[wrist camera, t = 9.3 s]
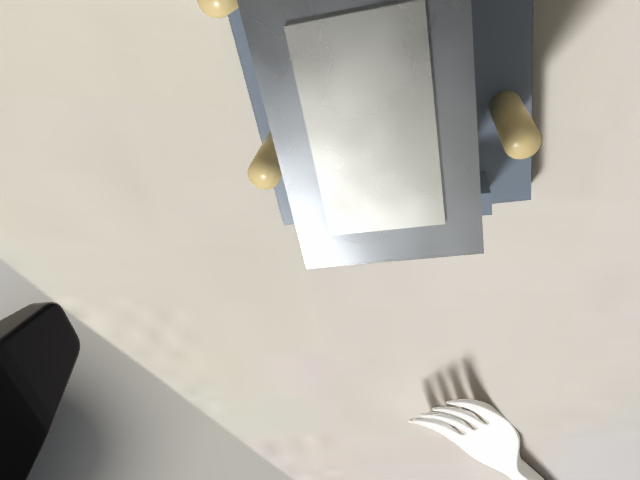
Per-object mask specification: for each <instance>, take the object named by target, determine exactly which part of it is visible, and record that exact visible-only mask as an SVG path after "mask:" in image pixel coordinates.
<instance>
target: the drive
mask: <svg viewBox="0 0 640 480" xmlns="http://www.w3.org/2000/svg"><path fill="white" fill-rule="evenodd" d="M237 4H238V7H239V11H240V15H241V19H242V23H243V27H244V30H245V34H246V38H247V42H248V46H249V50H250V54H251V57H252V61H253V65H254V69H255V73H256V77H257V81H258V84H259V88H260V92H261V96H262V100H263V104H264V107H265V111H266V115H267V119H268V123H269V127H270V131H271V134H272V138H273V142H274V146H275V150H276V154H277V158H278V161H279V165H280V169H281V173H282V177H283V181H284V184H285V188H286V192H287V196H288V200H289V204H290V208H291V211H292V215H293V219H294V223H295V227H296V231H297V234H298V238H299V242H300V246H301V250H302V254H303V258H304V261H305V265H306V269H311V268H322V267H334V266H345V265H357V264H368V263H379V262H391V261H402V260H414V259H425V258H436V257H448V256H459V255H471V254H482V253H484V247H483V228H482V208H481V188H480V168H479V149H478V129H477V109H476V89H475V70H474V50H473V30H472V10H471V0H237Z"/></svg>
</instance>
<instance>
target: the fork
mask: <svg viewBox="0 0 640 480" xmlns="http://www.w3.org/2000/svg"><path fill="white" fill-rule="evenodd" d="M446 403H447V404H452V405H457V406H461V407H464V408H467V409H470V410H472V411H474V412H475V413H477V414H479V415H481V416H482V417H484V418H485V419H487V420H488V421H489V422H490V423H488V424H486V423H484V422H483V421H482V420H481V419H479V418H478V417H477V416H476V415H475V414H474V413H472V412H470V411H468V410H465V409H461V408H457V407H449V406H441V407H434V408H432V411H439V412H444V413H439V412H428V413H422V414H420V417H428V418H413V419H409V420H408V421H409V422H411V423H416V424H420V425H423V426H426V427H429V428H431V429H433V430H435V431H437V432H439V433H441V434H442V435H444V436H445V437H447V438H449V439H450V440H451V441H453V442H454V443H456V444H457V445H459V446H460V447H461V448H462V449H463V450H464V451H465V452H467V453H468V454H469V455H470V456H472V457H473V458H475V459H476V460H478V461H480V462H481V463H484V464H486V465H488V466H490V467H492V468H494V469H496V470H498V471H500V472H502V473H504V474H506V475H507V476H509V477H510V478H511V479H512V480H545V479H544V478H542V477H541V476H540V475H539V474H538V473H537V472H535V471H534V470H533V469H532V468H531V467H530V466H529V465H527V464H526V463H525V462H524V461H523V460H522V459H521V457H520V441H521V440H520V435H519V433H518V431H517V430H516V429H515V427H514V426H513V425H512V424H511V423H510V422H509V421H508V420H507V419H506V418H505V417H504V416H503V415H501V414H500V413H499V412H498V411H497V410H496V409H495V408H494V407H493V406H492V405H490V404H488V403H485V402H482V401H478V400H472V399H456V400H450V401H447V402H446ZM445 413H448V414H445ZM450 414H452V415H450ZM453 415H455V416H453ZM457 416H458V417H457ZM459 417H460V418H459ZM431 418H433V419H431ZM461 418H462V419H464V420H466V421H468V422H470V423H472V424H474V425H475V426H477V427H478V429H473V428H471V427H470V426H469V425H468V424H467V423H465V422H464V421H463V420H462V419H461ZM436 419H437V420H436ZM440 420H441V421H440ZM443 421H444V422H443ZM450 424H451V425H453V426H455V427H457V428H459V429H461V430H463V431H464V432H466V434H461V433H459V432H458V431H457V430H456V429H455V428H453V427H452V426H451V425H450Z"/></svg>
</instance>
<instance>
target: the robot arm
mask: <svg viewBox="0 0 640 480" xmlns="http://www.w3.org/2000/svg"><path fill="white" fill-rule="evenodd" d="M79 351H80V341H79V338H78V336H77V334H76V332H75V330H74V328H73V326H72V325H71V323H70V321H69V319H68V317H67V316H66V314H65V312H64V310H63V309H62V307H61V306H60V305H58V304H57V303H54V302H46V303H34V304H30V305H28V306H26V307H25V308H23V309H21V310H19V311H17V312H15V313H14V314H12V315H10V316H8V317H6V318H4V319H2V320H1V321H0V480H27V479H28V476H29V474H30V472H31V470H32V468H33V466H34V464H35V462H36V460H37V458H38V456H39V454H40V451H41V449H42V447H43V445H44V443H45V441H46V439H47V436H48V434H49V432H50V429H51V427H52V424H53V422H54V419H55V416H56V414H57V411H58V408H59V406H60V403H61V400H62V397H63V395H64V392H65V390H66V387H67V384H68V381H69V379H70V376H71V373H72V370H73V368H74V365H75V363H76V360H77V357H78V354H79Z"/></svg>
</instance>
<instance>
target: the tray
mask: <svg viewBox="0 0 640 480" xmlns="http://www.w3.org/2000/svg"><path fill="white" fill-rule="evenodd" d="M197 2H198V4H199V6H200V8H201V9H202V11H203V12H204V13H205V14H207V15H208V16H210V17H213V18H223V17H226V16H227V15H228V17H229V21H230V25H231V29H232V32H233V36H234V40H235V44H236V47H237V51H238V55H239V59H240V62H241V66H242V70H243V74H244V77H245V81H246V85H247V89H248V92H249V96H250V100H251V104H252V107H253V111H254V115H255V119H256V122H257V126H258V130H259V134H260V137H261V141H262V145H261V147H260V149H259V151H258V152H257V154H256V156H255V158H254V159H253V161H252V163H251V164H250V166H249V168H248V177H249V179H250V181H251V182H252V184H253V185H255V186H256V187H258V188H260V189H272V188H274V190H275V194H276V197H277V201H278V205H279V209H280V212H281V216H282V220H283V224H284V225H290V224H295V223H294V219H293V215H292V211H291V208H290V204H289V200H288V196H287V192H286V188H285V184H284V181H283V177H282V173H281V169H280V165H279V161H278V158H277V154H276V150H275V146H274V142H273V138H272V134H271V131H270V127H269V123H268V119H267V115H266V111H265V107H264V104H263V100H262V96H261V92H260V88H259V84H258V81H257V77H256V73H255V69H254V65H253V61H252V57H251V54H250V50H249V46H248V42H247V38H246V34H245V30H244V27H243V23H242V19H241V15H240V11H239V7H238V4H237V0H197ZM471 10H472V30H473V50H474V70H475V89H476V109H477V129H478V149H479V168H480V188H481V208H482V215H492V204H494V203H503V202H513V201H523V200H531V156H532V155H534V154H535V153H536V152H537V151H538V150H539V148H540V146H541V143H542V136H541V133H540V132H539V130H538V128H537V126H536V124H535V123H534V121H533V119H532V29H533V0H471Z"/></svg>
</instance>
